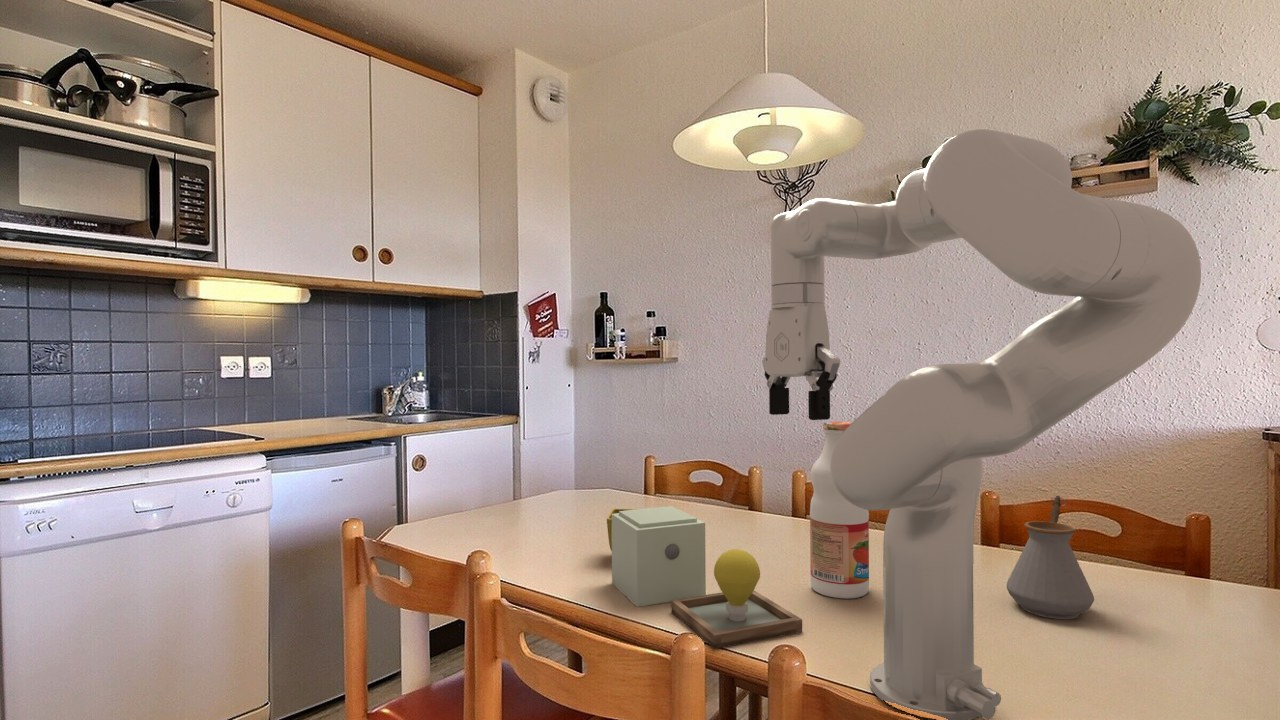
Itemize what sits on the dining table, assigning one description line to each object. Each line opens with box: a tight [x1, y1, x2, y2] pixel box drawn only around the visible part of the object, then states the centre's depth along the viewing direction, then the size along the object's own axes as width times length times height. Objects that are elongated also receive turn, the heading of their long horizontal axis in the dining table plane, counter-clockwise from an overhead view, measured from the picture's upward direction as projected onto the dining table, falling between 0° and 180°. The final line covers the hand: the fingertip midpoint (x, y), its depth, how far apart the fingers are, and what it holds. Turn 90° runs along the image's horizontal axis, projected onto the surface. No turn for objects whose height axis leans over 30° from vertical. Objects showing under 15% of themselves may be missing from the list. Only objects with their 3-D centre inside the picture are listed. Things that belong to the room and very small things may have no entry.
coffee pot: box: [1006, 495, 1095, 620], centre depth 106 cm, size 21×12×15 cm, turn 143°
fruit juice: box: [809, 421, 870, 599], centre depth 111 cm, size 9×9×28 cm
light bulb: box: [713, 548, 761, 621], centre depth 97 cm, size 7×7×10 cm
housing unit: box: [611, 505, 707, 608], centre depth 112 cm, size 13×12×13 cm
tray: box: [670, 590, 803, 650], centre depth 98 cm, size 14×14×2 cm
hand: (798, 416), depth 96 cm, fingers open, 9 cm apart
